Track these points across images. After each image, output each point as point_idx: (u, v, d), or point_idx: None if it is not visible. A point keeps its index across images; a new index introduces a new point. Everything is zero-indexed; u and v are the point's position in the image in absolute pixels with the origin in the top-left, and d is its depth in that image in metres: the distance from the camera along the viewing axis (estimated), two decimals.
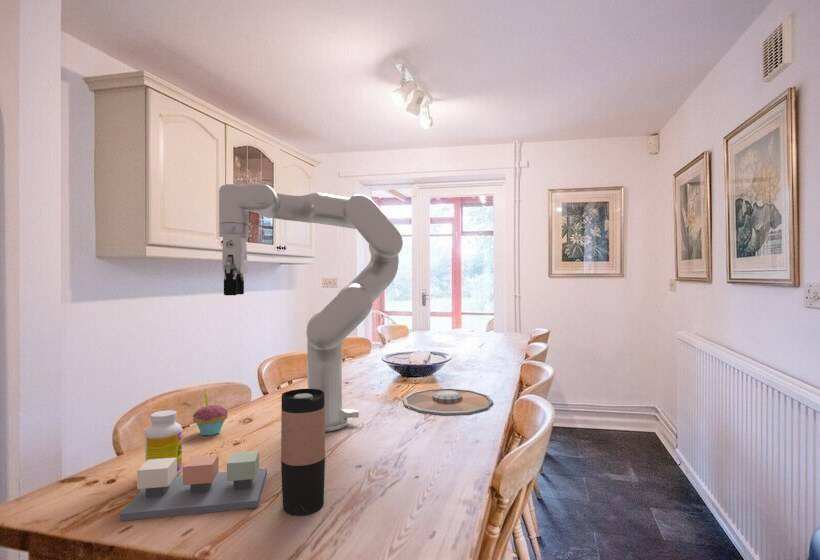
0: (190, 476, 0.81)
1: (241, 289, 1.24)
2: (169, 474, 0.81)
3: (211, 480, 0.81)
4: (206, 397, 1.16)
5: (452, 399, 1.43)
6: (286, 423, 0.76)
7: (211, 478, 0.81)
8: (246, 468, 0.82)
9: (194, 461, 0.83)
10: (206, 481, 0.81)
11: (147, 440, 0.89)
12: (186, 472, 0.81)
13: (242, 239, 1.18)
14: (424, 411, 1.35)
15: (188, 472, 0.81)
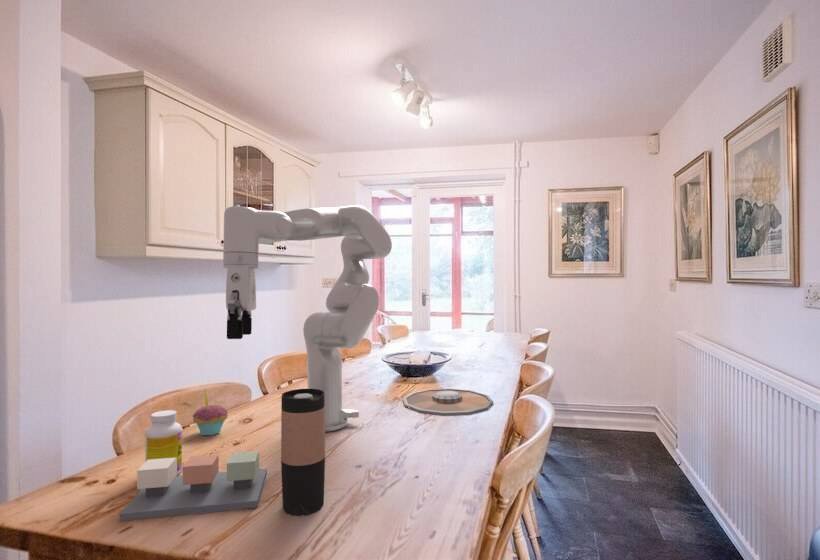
0: (190, 476, 0.81)
1: (248, 328, 1.06)
2: (169, 474, 0.81)
3: (211, 480, 0.81)
4: (206, 397, 1.16)
5: (452, 399, 1.43)
6: (286, 423, 0.76)
7: (211, 478, 0.81)
8: (246, 468, 0.82)
9: (194, 461, 0.83)
10: (206, 481, 0.81)
11: (147, 440, 0.89)
12: (186, 472, 0.81)
13: (250, 271, 0.99)
14: (424, 411, 1.35)
15: (188, 472, 0.81)
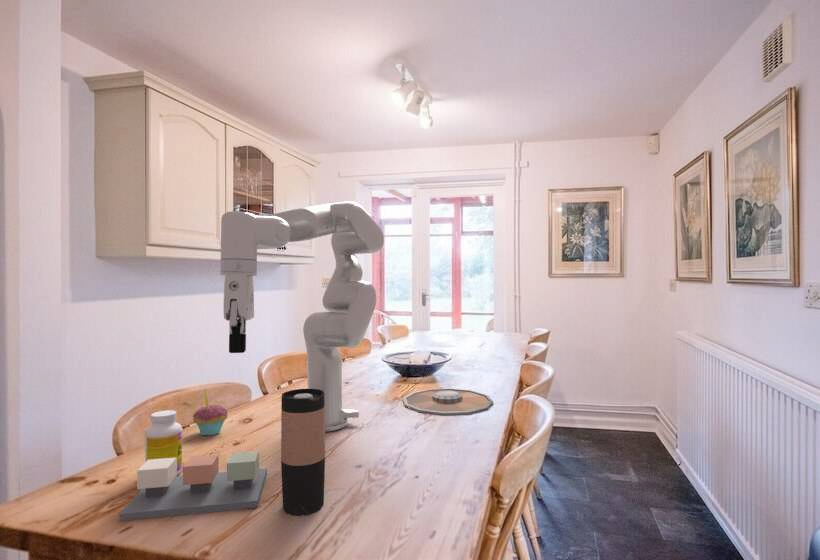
0: (190, 476, 0.81)
1: None
2: (169, 474, 0.81)
3: (211, 480, 0.81)
4: (206, 397, 1.16)
5: (452, 399, 1.43)
6: (286, 423, 0.76)
7: (211, 478, 0.81)
8: (246, 468, 0.82)
9: (194, 461, 0.83)
10: (206, 481, 0.81)
11: (147, 440, 0.89)
12: (186, 472, 0.81)
13: (248, 279, 0.95)
14: (424, 411, 1.35)
15: (188, 472, 0.81)
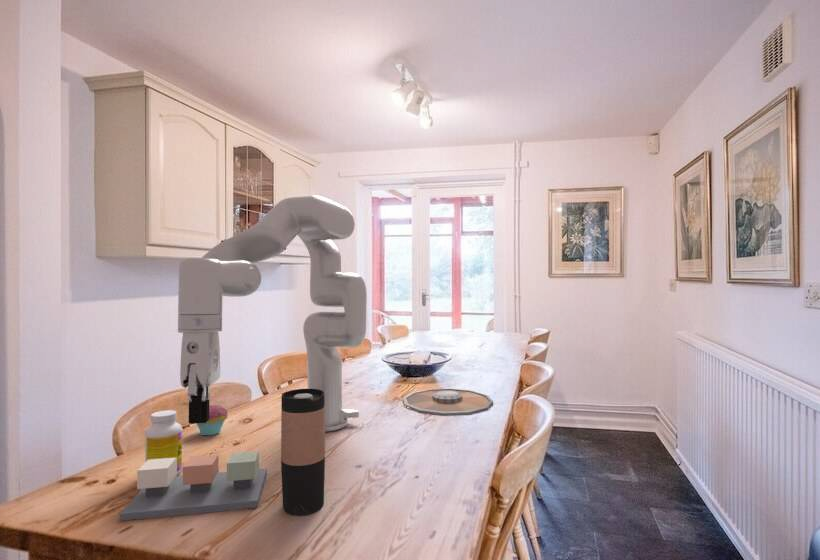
0: (190, 476, 0.81)
1: None
2: (169, 474, 0.81)
3: (211, 480, 0.81)
4: None
5: (452, 399, 1.43)
6: (286, 423, 0.76)
7: (211, 478, 0.81)
8: (246, 468, 0.82)
9: (194, 461, 0.83)
10: (206, 481, 0.81)
11: (147, 440, 0.89)
12: (186, 472, 0.81)
13: (211, 337, 0.81)
14: (424, 411, 1.35)
15: (188, 472, 0.81)
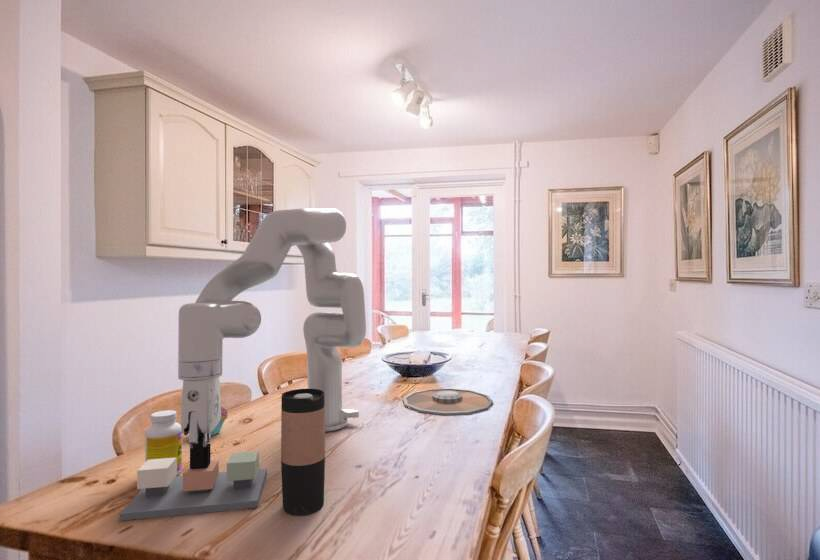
0: (190, 482, 0.81)
1: None
2: (169, 474, 0.81)
3: (211, 486, 0.81)
4: None
5: (452, 399, 1.43)
6: (286, 423, 0.76)
7: (211, 484, 0.81)
8: (246, 468, 0.82)
9: None
10: (206, 487, 0.81)
11: (147, 440, 0.89)
12: (186, 478, 0.81)
13: (211, 383, 0.81)
14: (424, 411, 1.35)
15: (188, 478, 0.80)
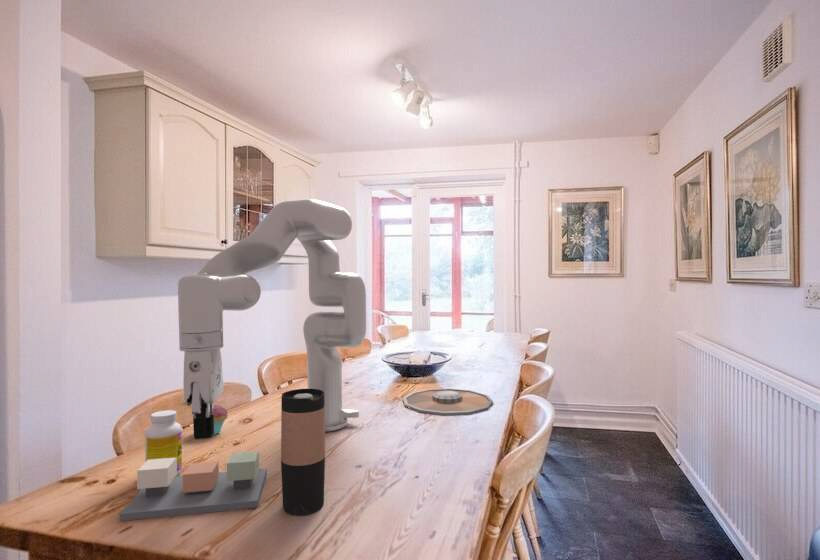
0: (190, 483, 0.81)
1: None
2: (169, 474, 0.81)
3: (211, 488, 0.81)
4: None
5: (452, 399, 1.43)
6: (286, 423, 0.76)
7: (211, 486, 0.81)
8: (246, 468, 0.82)
9: (194, 468, 0.83)
10: (206, 489, 0.81)
11: (147, 440, 0.89)
12: (186, 479, 0.81)
13: (213, 355, 0.82)
14: (424, 411, 1.35)
15: (188, 480, 0.80)
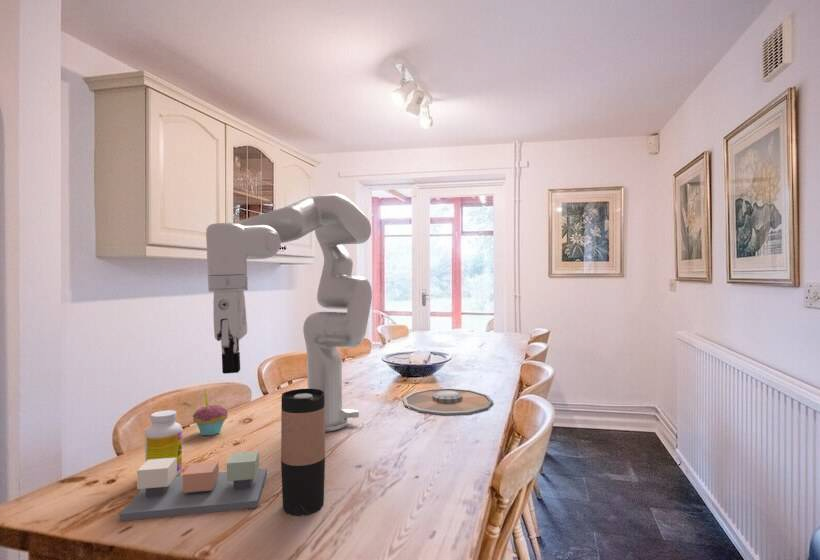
0: (190, 483, 0.81)
1: None
2: (169, 474, 0.81)
3: (211, 488, 0.81)
4: (206, 397, 1.16)
5: (452, 399, 1.43)
6: (286, 423, 0.76)
7: (211, 486, 0.81)
8: (246, 468, 0.82)
9: (194, 468, 0.83)
10: (206, 489, 0.81)
11: (147, 440, 0.89)
12: (186, 479, 0.81)
13: (239, 295, 0.89)
14: (424, 411, 1.35)
15: (188, 480, 0.80)
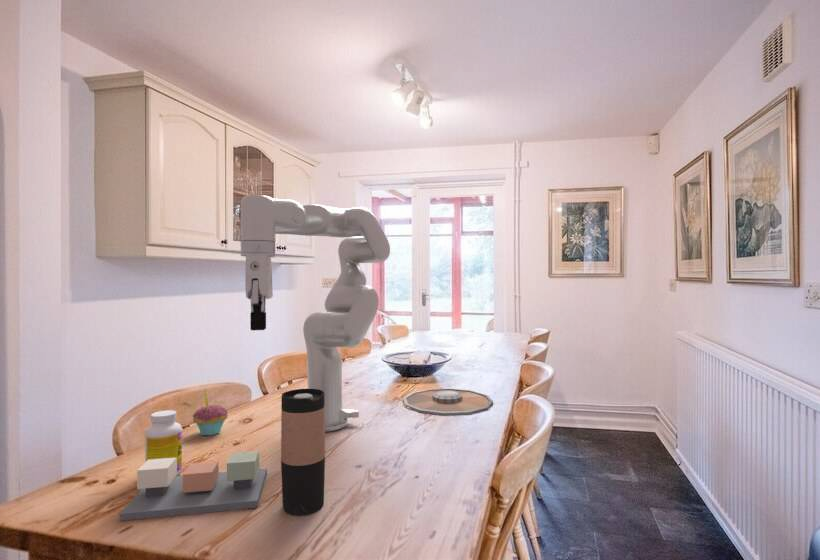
0: (190, 483, 0.81)
1: None
2: (169, 474, 0.81)
3: (211, 488, 0.81)
4: (206, 397, 1.16)
5: (452, 399, 1.43)
6: (286, 423, 0.76)
7: (211, 486, 0.81)
8: (246, 468, 0.82)
9: (194, 468, 0.83)
10: (206, 489, 0.81)
11: (147, 440, 0.89)
12: (186, 479, 0.81)
13: (268, 259, 1.00)
14: (424, 411, 1.35)
15: (188, 480, 0.80)
